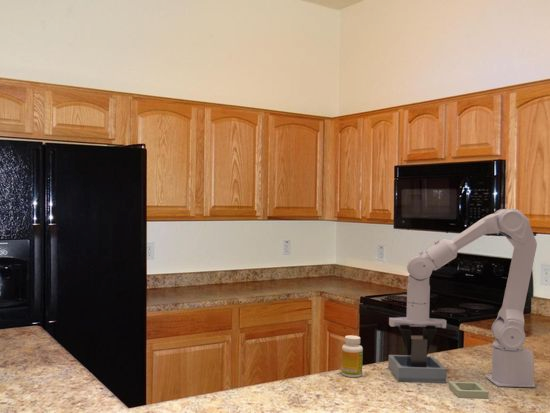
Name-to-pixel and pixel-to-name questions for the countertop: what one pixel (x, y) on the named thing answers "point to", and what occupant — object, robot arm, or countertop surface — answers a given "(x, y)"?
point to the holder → (473, 391)
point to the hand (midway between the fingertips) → (416, 354)
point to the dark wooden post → (417, 352)
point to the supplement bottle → (352, 357)
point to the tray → (417, 370)
